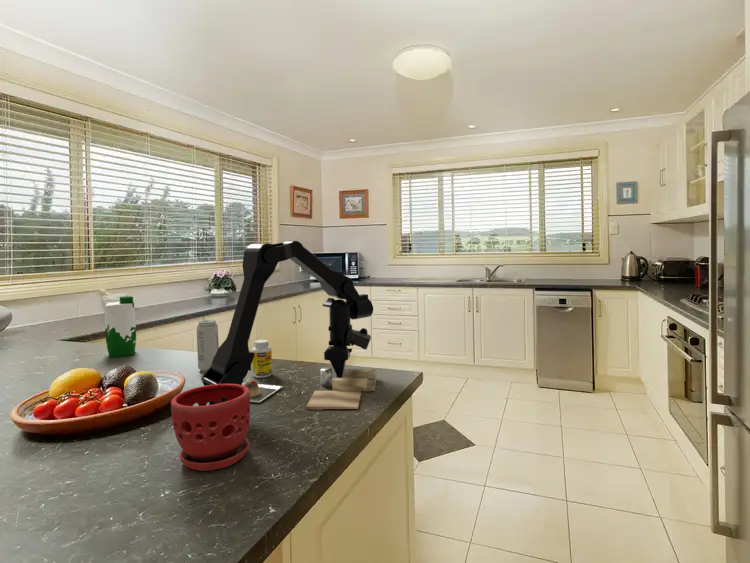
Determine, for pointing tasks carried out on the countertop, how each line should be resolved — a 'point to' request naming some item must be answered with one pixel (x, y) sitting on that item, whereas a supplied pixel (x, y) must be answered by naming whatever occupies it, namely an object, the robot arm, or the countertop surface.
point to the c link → (355, 380)
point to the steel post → (326, 377)
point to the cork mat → (334, 400)
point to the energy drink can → (206, 343)
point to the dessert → (255, 387)
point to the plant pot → (212, 425)
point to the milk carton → (120, 327)
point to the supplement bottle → (262, 359)
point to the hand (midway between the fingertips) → (340, 376)
